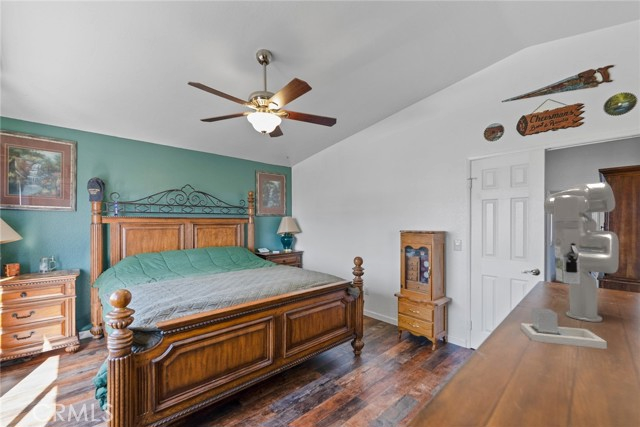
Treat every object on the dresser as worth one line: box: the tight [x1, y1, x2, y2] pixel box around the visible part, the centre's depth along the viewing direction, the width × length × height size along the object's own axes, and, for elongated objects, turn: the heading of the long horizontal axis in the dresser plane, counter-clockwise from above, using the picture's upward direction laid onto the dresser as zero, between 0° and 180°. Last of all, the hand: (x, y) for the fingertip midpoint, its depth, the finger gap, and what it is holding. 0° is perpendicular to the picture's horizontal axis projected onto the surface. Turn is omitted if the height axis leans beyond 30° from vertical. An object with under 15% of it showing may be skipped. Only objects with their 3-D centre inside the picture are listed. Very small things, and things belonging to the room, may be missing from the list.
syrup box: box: [554, 246, 580, 284], centre depth 113 cm, size 6×6×14 cm
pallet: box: [520, 322, 608, 350], centre depth 109 cm, size 12×22×4 cm, turn 72°
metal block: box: [531, 307, 559, 335], centre depth 110 cm, size 6×6×10 cm
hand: (567, 270), depth 113 cm, fingers closed on syrup box, 6 cm apart
